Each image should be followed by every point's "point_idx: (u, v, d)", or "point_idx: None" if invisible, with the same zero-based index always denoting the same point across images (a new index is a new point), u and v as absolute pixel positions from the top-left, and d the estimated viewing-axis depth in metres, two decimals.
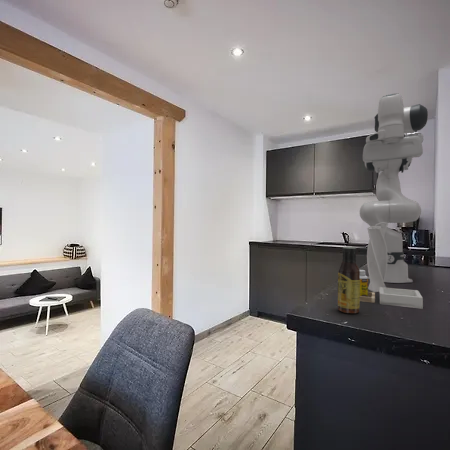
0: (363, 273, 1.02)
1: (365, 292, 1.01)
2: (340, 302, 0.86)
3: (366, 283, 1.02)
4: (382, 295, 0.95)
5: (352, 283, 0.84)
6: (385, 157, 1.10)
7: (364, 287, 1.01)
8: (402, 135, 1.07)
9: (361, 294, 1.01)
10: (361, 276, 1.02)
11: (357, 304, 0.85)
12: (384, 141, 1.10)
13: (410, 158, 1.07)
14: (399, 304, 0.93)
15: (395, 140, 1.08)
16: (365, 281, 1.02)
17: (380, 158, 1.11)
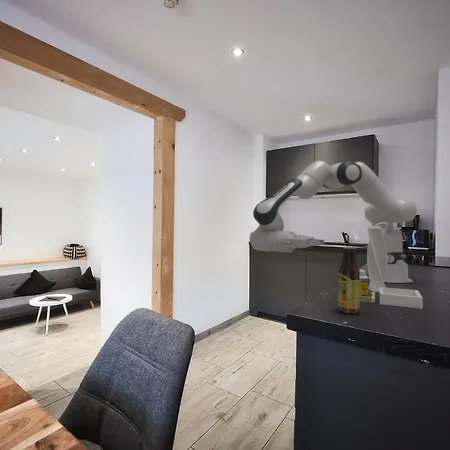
0: (363, 273, 1.02)
1: (365, 292, 1.01)
2: (340, 302, 0.86)
3: (366, 283, 1.02)
4: (382, 295, 0.95)
5: (352, 283, 0.84)
6: None
7: (364, 287, 1.01)
8: (287, 247, 1.13)
9: (361, 294, 1.01)
10: (361, 276, 1.02)
11: (357, 304, 0.85)
12: None
13: (308, 245, 1.07)
14: (399, 304, 0.93)
15: (293, 248, 1.14)
16: (365, 281, 1.02)
17: None
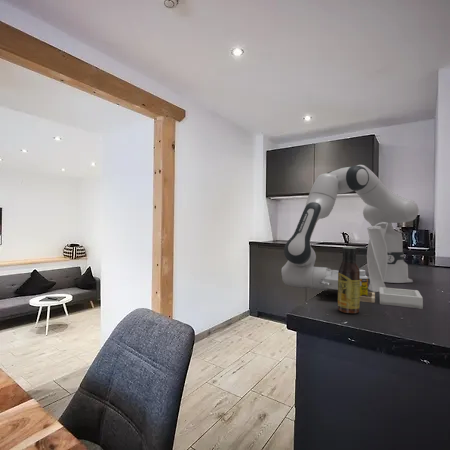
0: (363, 273, 1.02)
1: (365, 292, 1.01)
2: (340, 302, 0.86)
3: (366, 283, 1.02)
4: (382, 295, 0.95)
5: (352, 283, 0.84)
6: None
7: (364, 287, 1.01)
8: (324, 286, 1.06)
9: (361, 294, 1.01)
10: (361, 276, 1.02)
11: (357, 304, 0.85)
12: None
13: None
14: (399, 304, 0.93)
15: None
16: (365, 281, 1.02)
17: None
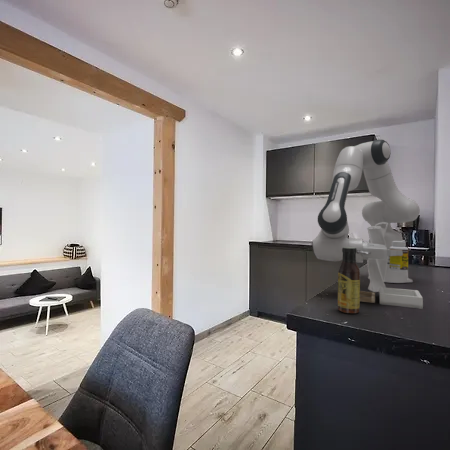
0: (403, 244, 0.96)
1: (406, 264, 0.96)
2: (340, 302, 0.86)
3: (407, 254, 0.96)
4: (382, 295, 0.95)
5: (352, 283, 0.84)
6: None
7: (405, 258, 0.96)
8: (360, 258, 1.01)
9: (401, 266, 0.96)
10: (401, 247, 0.96)
11: (357, 304, 0.85)
12: None
13: (389, 255, 0.95)
14: (399, 304, 0.93)
15: None
16: (406, 252, 0.96)
17: None
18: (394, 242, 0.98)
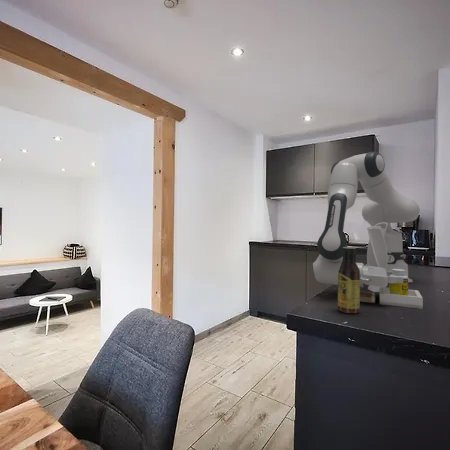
0: (403, 273, 0.96)
1: (406, 293, 0.96)
2: (340, 302, 0.86)
3: (407, 283, 0.96)
4: (382, 295, 0.95)
5: (352, 283, 0.84)
6: None
7: (405, 287, 0.96)
8: (360, 283, 1.01)
9: None
10: (401, 276, 0.96)
11: (357, 304, 0.85)
12: None
13: None
14: (399, 304, 0.93)
15: None
16: (406, 281, 0.96)
17: None
18: (394, 270, 0.98)
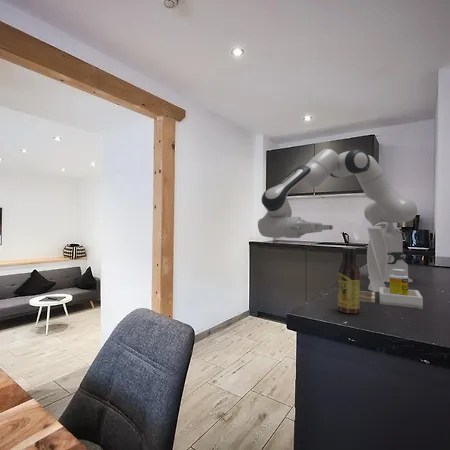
0: (403, 273, 0.96)
1: (406, 293, 0.96)
2: (340, 302, 0.86)
3: (407, 283, 0.96)
4: (382, 295, 0.95)
5: (352, 283, 0.84)
6: None
7: (405, 287, 0.96)
8: (296, 233, 1.14)
9: None
10: (401, 276, 0.96)
11: (357, 304, 0.85)
12: None
13: (317, 230, 1.07)
14: (399, 304, 0.93)
15: (301, 234, 1.15)
16: (406, 281, 0.96)
17: (319, 231, 1.16)
18: (394, 270, 0.98)
